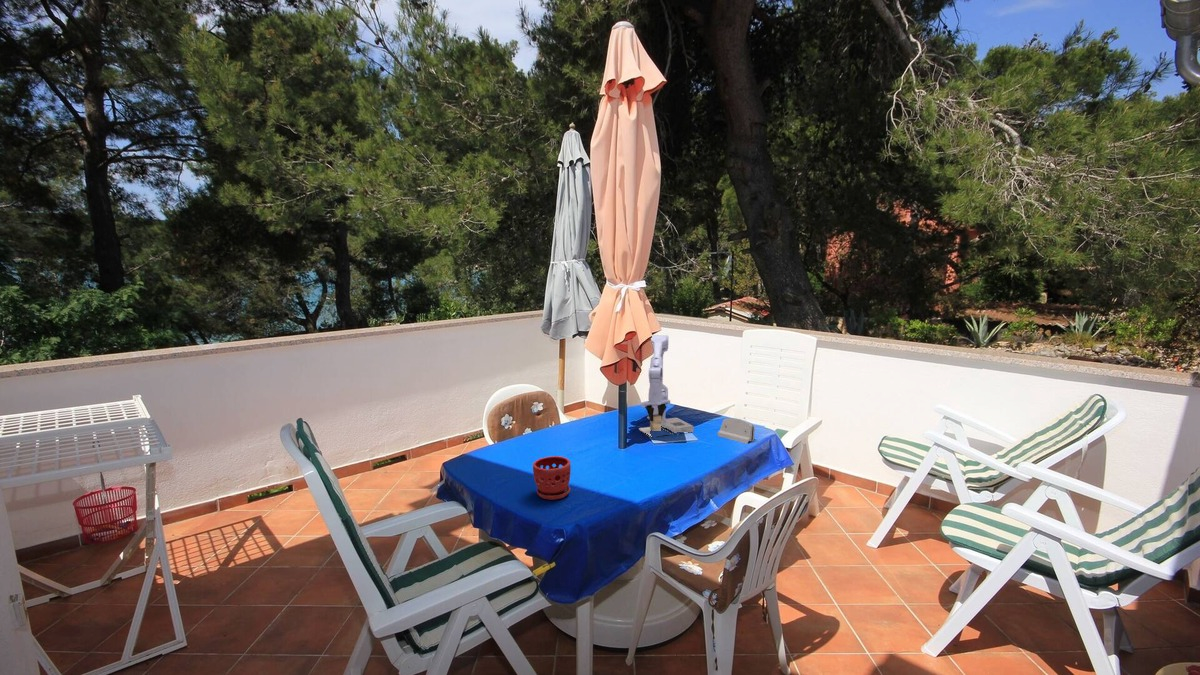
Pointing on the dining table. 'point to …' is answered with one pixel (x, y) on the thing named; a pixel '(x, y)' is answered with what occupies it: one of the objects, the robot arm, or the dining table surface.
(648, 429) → the pad
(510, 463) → the dining table surface
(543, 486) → the plant pot
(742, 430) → the hinge
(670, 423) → the white frame
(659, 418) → the peg
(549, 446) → the dining table surface
